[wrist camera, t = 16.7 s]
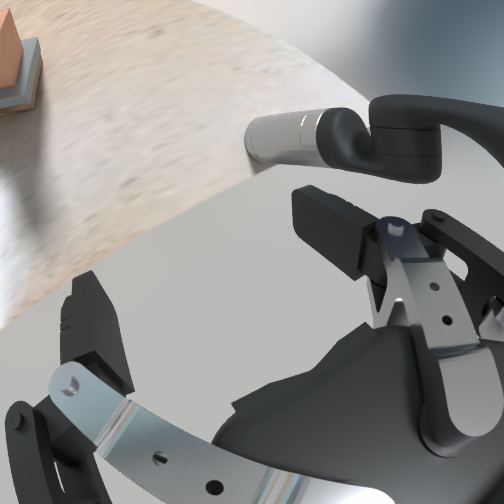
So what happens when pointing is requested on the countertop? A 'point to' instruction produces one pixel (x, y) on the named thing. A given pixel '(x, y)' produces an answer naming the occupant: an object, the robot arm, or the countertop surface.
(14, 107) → the tower bottom slab
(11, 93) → the tower top slab
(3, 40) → the pillar
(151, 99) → the countertop surface
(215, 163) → the countertop surface
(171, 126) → the countertop surface
